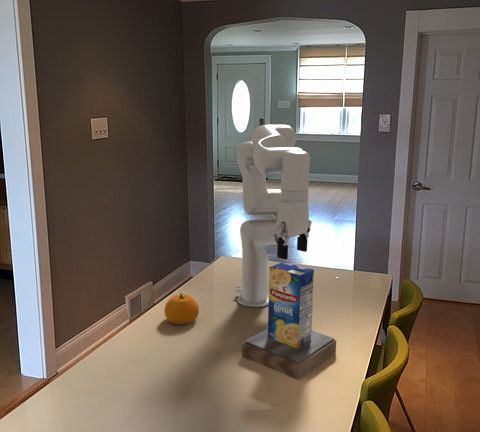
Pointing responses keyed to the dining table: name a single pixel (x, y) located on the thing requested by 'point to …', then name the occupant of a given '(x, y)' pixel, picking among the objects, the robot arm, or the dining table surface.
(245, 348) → the podium
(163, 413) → the dining table surface
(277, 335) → the beverage box
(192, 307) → the fruit
